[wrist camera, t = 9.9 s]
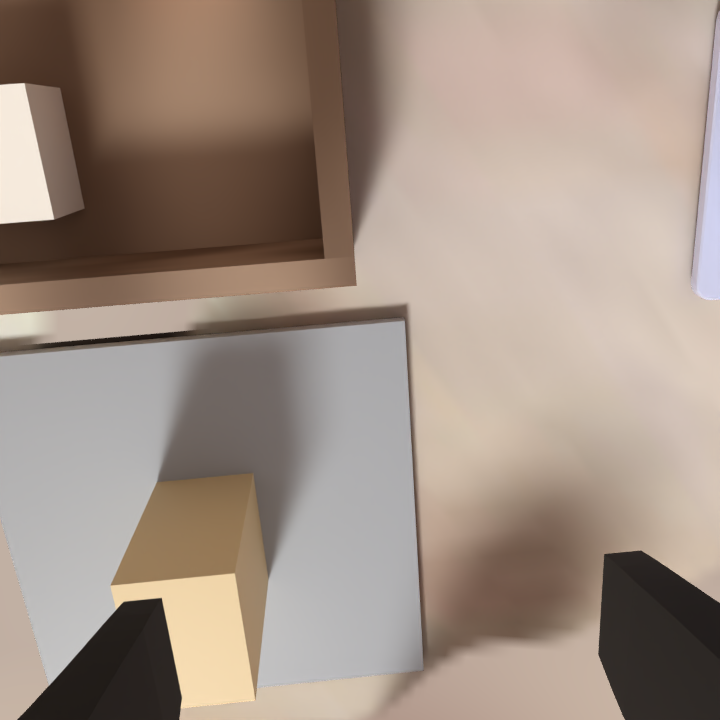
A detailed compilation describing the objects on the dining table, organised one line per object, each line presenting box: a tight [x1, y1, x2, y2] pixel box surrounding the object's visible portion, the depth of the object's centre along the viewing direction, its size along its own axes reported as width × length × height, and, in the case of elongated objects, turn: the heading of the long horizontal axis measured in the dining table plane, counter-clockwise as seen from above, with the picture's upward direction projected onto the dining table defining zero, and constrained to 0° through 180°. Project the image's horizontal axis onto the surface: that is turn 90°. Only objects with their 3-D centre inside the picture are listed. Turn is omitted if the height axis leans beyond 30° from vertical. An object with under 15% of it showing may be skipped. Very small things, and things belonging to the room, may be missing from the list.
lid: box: [0, 317, 424, 708], centre depth 20 cm, size 13×13×6 cm
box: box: [0, 0, 357, 315], centre depth 16 cm, size 12×12×4 cm
